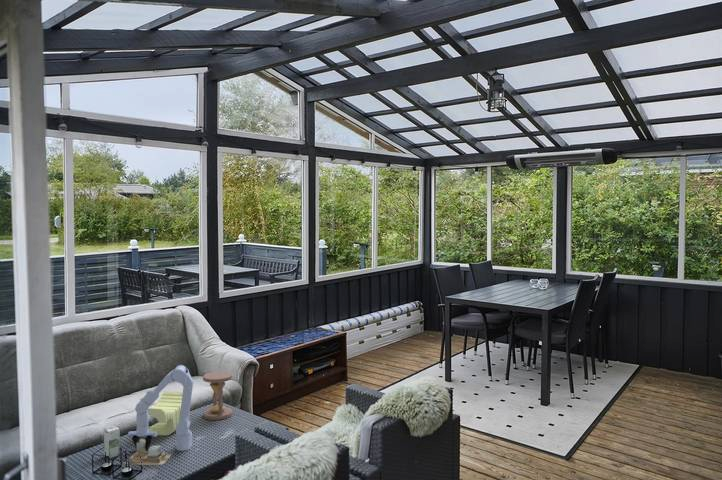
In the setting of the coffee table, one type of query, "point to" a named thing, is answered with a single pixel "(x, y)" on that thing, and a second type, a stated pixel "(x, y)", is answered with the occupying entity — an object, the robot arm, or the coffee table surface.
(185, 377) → the robot arm
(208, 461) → the coffee table surface
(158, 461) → the pallet
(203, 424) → the coffee table surface
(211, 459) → the coffee table surface
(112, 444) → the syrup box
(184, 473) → the coffee table surface
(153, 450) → the billet
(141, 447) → the billet
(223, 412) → the hourglass
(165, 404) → the slatted curved stool
